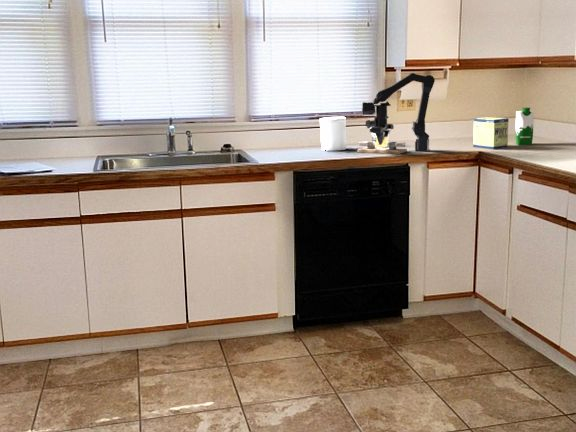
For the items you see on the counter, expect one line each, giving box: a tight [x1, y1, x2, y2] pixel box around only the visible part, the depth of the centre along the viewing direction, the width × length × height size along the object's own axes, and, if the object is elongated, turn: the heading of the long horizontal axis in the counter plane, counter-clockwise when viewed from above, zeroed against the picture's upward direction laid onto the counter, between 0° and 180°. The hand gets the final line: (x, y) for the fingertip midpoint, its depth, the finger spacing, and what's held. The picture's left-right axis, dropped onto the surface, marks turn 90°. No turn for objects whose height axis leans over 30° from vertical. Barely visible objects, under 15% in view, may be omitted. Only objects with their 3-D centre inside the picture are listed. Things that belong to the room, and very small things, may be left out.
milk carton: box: [514, 107, 535, 146], centre depth 371 cm, size 9×9×20 cm
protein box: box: [472, 116, 509, 150], centre depth 365 cm, size 10×16×16 cm
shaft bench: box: [356, 140, 408, 155], centre depth 364 cm, size 26×10×5 cm, turn 59°
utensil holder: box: [319, 116, 347, 152], centre depth 382 cm, size 15×15×18 cm
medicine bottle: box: [371, 133, 390, 148], centre depth 389 cm, size 7×7×12 cm
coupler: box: [375, 136, 388, 148], centre depth 364 cm, size 4×5×5 cm
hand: (381, 144), depth 364 cm, fingers closed on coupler, 4 cm apart
